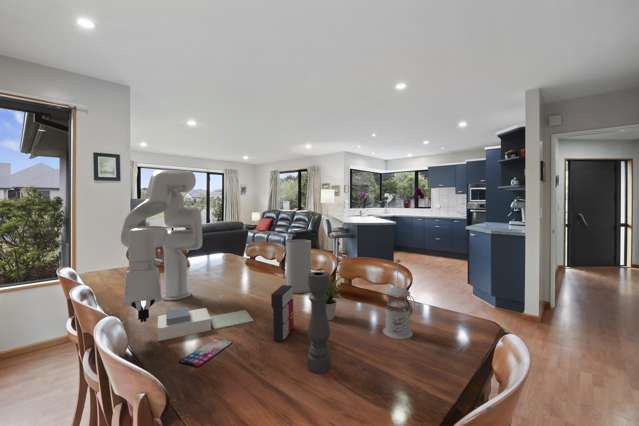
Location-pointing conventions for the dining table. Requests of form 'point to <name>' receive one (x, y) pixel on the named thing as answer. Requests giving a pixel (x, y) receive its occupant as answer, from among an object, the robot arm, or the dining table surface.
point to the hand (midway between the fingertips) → (143, 320)
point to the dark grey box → (282, 312)
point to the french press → (398, 313)
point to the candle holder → (318, 324)
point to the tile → (177, 316)
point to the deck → (184, 325)
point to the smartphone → (205, 353)
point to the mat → (230, 319)
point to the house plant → (331, 302)
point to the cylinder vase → (298, 264)
